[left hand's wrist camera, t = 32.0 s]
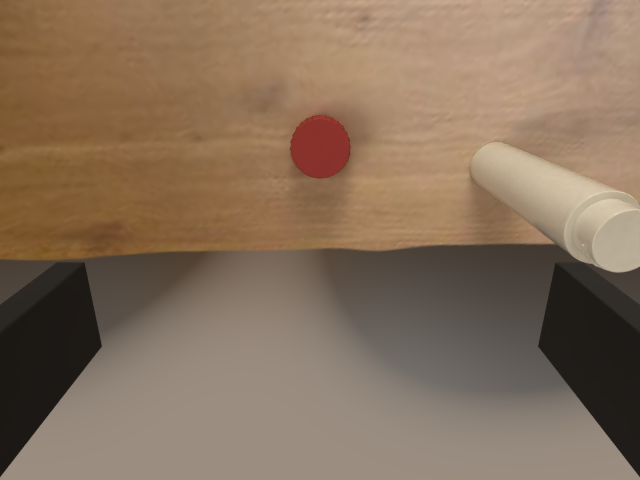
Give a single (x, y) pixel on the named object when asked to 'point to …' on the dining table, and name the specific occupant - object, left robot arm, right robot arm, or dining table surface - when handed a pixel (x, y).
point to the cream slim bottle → (563, 205)
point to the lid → (320, 147)
